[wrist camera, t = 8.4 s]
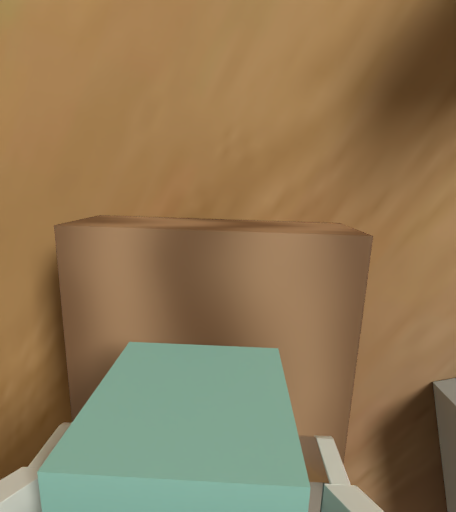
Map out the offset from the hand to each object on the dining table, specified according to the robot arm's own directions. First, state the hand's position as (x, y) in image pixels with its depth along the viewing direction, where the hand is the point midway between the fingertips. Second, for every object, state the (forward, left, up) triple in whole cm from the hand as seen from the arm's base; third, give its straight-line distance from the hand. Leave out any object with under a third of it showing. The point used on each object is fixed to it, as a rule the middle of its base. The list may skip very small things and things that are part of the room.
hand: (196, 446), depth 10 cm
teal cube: (0, 0, -2) cm, 2 cm away
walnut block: (0, 0, -8) cm, 8 cm away
